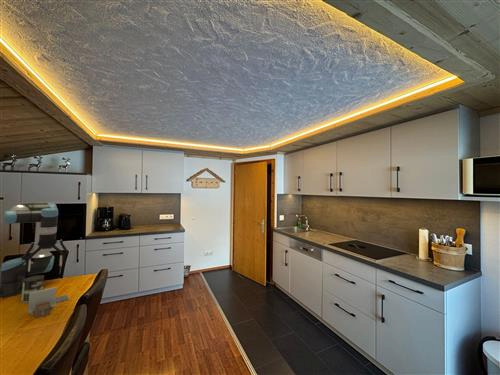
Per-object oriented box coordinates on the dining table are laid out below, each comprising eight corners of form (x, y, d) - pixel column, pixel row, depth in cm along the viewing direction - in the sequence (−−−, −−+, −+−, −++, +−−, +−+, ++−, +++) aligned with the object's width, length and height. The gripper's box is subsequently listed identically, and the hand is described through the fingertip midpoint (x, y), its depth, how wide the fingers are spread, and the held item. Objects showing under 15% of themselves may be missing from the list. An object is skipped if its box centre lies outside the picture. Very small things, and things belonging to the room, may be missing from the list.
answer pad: (51, 299, 139) (51, 298, 139) (66, 295, 145) (67, 294, 145) (52, 304, 134) (52, 303, 134) (68, 300, 140) (68, 299, 140)
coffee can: (46, 296, 143) (48, 276, 144) (28, 303, 133) (30, 282, 133) (35, 293, 145) (37, 274, 146) (16, 301, 135) (18, 280, 135)
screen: (27, 311, 125) (29, 291, 126) (54, 304, 134) (55, 285, 134) (27, 314, 122) (29, 294, 122) (55, 307, 131) (56, 288, 131)
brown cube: (35, 314, 123) (35, 304, 123) (48, 310, 128) (49, 300, 128) (35, 318, 119) (36, 308, 119) (49, 314, 123) (50, 304, 124)
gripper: (17, 237, 112) (13, 275, 112) (75, 232, 131) (73, 265, 130) (17, 234, 117) (14, 271, 117) (73, 230, 136) (71, 261, 135)
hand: (45, 268), depth 124 cm, fingers open, 13 cm apart
